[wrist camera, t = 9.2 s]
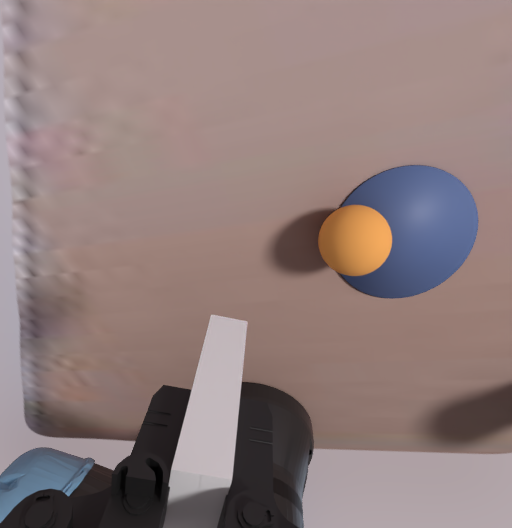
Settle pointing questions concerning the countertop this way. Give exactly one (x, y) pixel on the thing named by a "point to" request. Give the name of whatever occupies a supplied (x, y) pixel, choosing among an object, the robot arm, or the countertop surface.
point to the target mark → (417, 229)
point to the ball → (355, 240)
